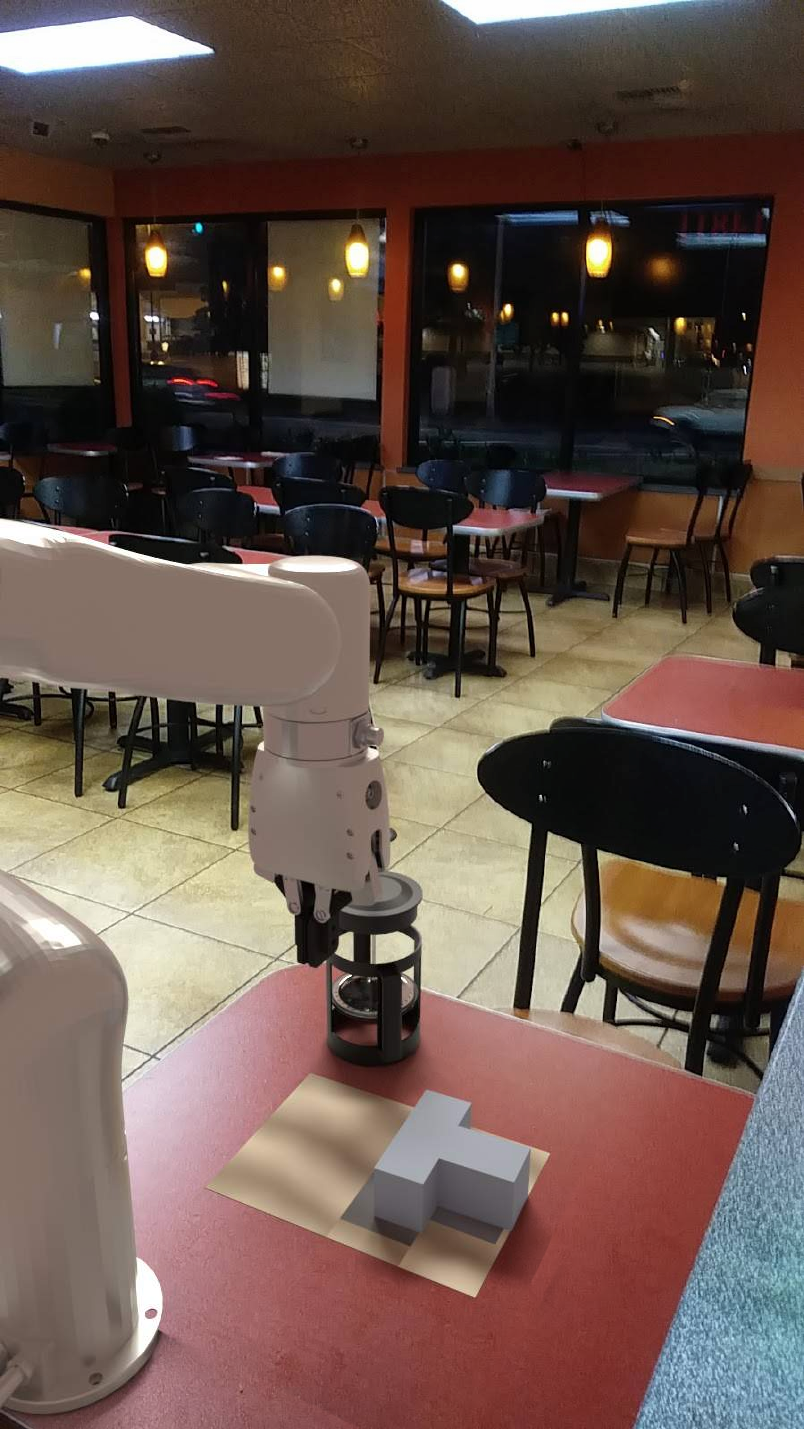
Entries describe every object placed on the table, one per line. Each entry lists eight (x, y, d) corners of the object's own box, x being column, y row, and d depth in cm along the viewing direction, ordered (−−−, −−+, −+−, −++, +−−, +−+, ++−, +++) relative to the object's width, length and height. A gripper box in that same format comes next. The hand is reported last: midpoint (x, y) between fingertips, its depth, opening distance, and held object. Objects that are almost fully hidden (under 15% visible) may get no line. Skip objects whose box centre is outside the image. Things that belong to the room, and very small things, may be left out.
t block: (498, 1260, 78) (500, 1210, 76) (374, 1216, 82) (374, 1167, 80) (539, 1170, 86) (542, 1124, 85) (425, 1134, 90) (426, 1089, 89)
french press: (314, 1024, 107) (310, 813, 100) (404, 1009, 109) (406, 802, 102) (341, 1098, 96) (339, 867, 89) (440, 1080, 99) (446, 854, 92)
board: (474, 1310, 75) (475, 1297, 75) (205, 1199, 85) (205, 1187, 84) (549, 1165, 88) (550, 1153, 88) (310, 1083, 98) (310, 1072, 98)
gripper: (433, 734, 77) (425, 961, 82) (260, 702, 83) (264, 914, 89) (382, 766, 70) (378, 1009, 76) (199, 728, 77) (208, 954, 82)
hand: (316, 957), depth 82 cm, fingers closed
